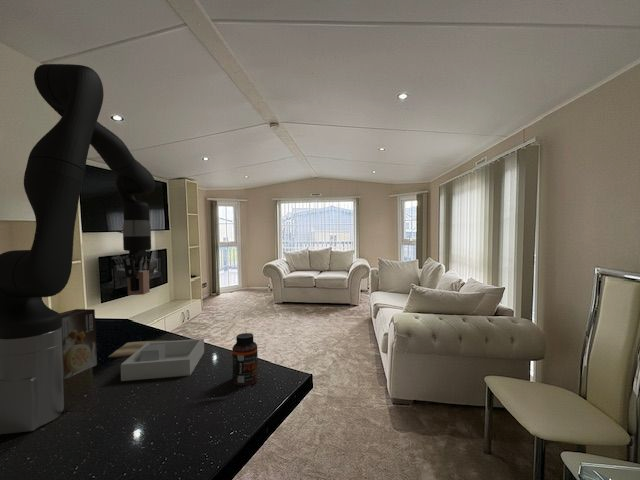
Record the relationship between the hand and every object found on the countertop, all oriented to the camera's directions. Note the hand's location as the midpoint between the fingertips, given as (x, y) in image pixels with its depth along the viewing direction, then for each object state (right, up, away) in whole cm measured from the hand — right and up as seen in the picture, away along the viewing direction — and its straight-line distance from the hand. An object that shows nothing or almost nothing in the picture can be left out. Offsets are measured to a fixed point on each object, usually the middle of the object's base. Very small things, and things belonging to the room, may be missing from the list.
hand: (138, 289), depth 96 cm
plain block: (+12, -19, -13) cm, 26 cm away
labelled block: (0, -1, 0) cm, 1 cm away
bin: (+15, -19, -13) cm, 28 cm away
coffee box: (-9, -20, -15) cm, 27 cm away
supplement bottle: (+39, -19, -22) cm, 49 cm away
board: (0, -19, 0) cm, 19 cm away
